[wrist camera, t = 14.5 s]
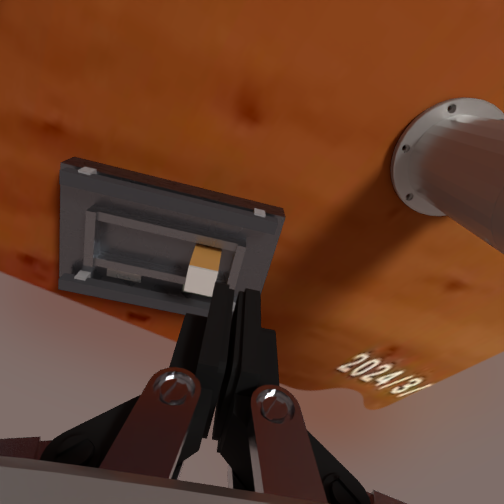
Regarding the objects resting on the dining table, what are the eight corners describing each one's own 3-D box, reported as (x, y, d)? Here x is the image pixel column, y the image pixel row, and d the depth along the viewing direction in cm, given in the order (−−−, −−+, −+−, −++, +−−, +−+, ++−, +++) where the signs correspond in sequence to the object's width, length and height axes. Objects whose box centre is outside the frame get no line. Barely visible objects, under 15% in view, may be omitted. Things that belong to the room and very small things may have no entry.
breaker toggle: (221, 249, 39) (218, 272, 35) (216, 271, 41) (212, 296, 36) (196, 243, 39) (188, 266, 34) (191, 266, 40) (183, 290, 36)
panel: (282, 208, 41) (287, 224, 36) (253, 303, 47) (253, 327, 42) (74, 156, 38) (50, 166, 33) (70, 264, 44) (50, 285, 39)
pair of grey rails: (277, 213, 38) (278, 221, 36) (245, 316, 44) (245, 328, 42) (70, 163, 35) (59, 168, 33) (68, 280, 41) (58, 290, 39)
